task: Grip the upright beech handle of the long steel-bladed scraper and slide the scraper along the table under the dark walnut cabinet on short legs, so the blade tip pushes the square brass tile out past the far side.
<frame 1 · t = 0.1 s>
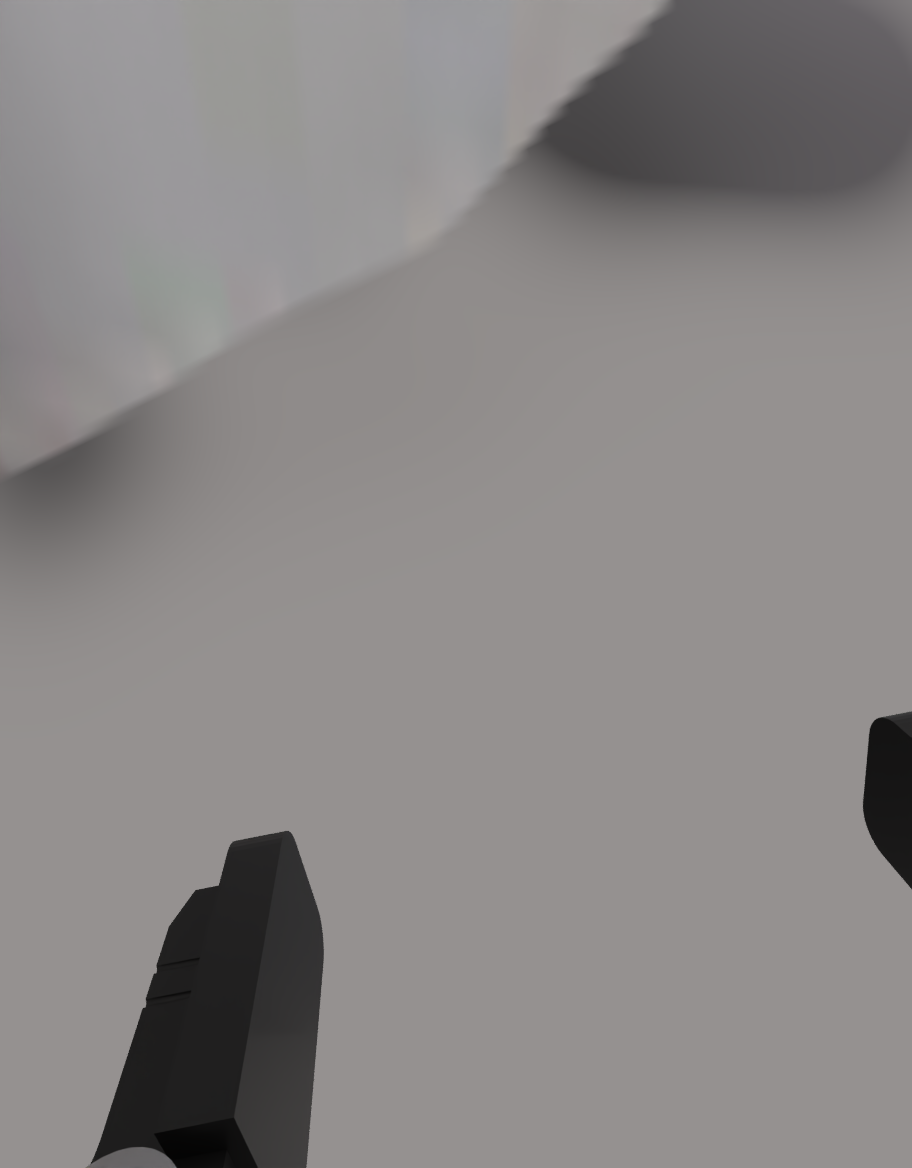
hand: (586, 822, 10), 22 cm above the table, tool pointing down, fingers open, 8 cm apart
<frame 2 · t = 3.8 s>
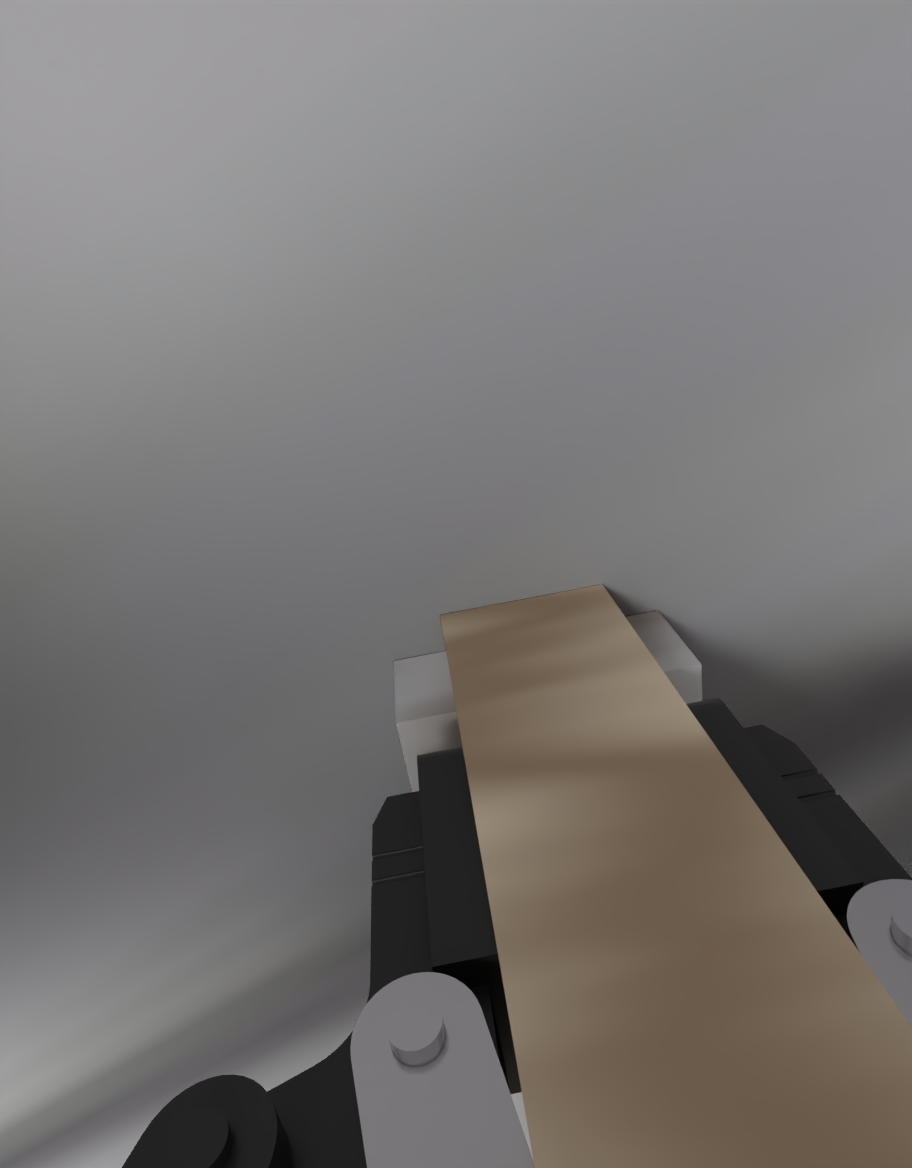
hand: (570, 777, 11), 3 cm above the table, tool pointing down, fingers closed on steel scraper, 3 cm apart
steel scraper: (583, 1047, 18), on the table, touching gripper
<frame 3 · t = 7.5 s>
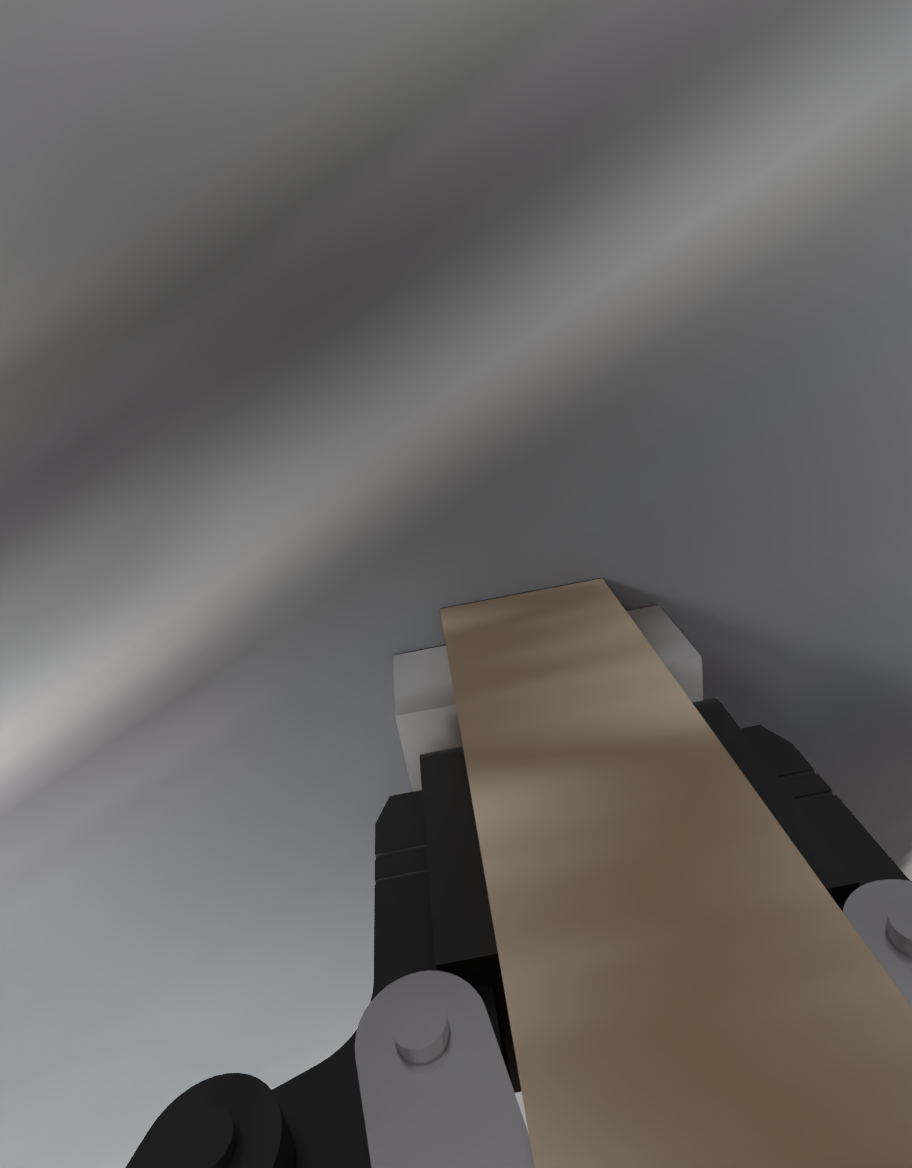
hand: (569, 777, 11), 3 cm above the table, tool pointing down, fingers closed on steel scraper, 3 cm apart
steel scraper: (584, 1048, 18), on the table, touching gripper
when the fingers open (3 cm above the table, at t = 10.0 s): steel scraper stays where it is, on the table.
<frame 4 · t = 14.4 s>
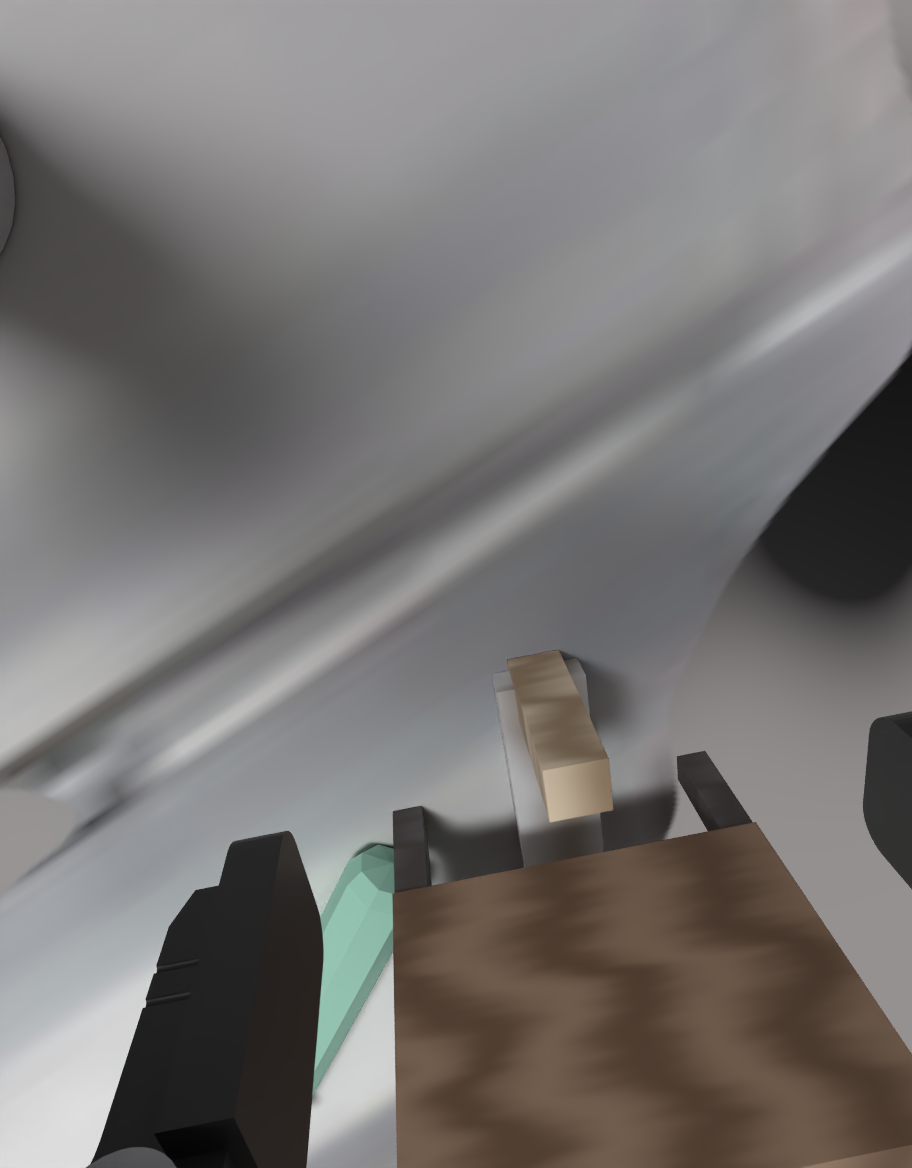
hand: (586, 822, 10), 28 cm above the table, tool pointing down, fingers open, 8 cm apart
walnut cabinet: (557, 840, 47), on the table
steel scraper: (556, 825, 47), on the table
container: (324, 966, 50), on the table
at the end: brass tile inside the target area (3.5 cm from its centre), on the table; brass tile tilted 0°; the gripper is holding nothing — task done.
